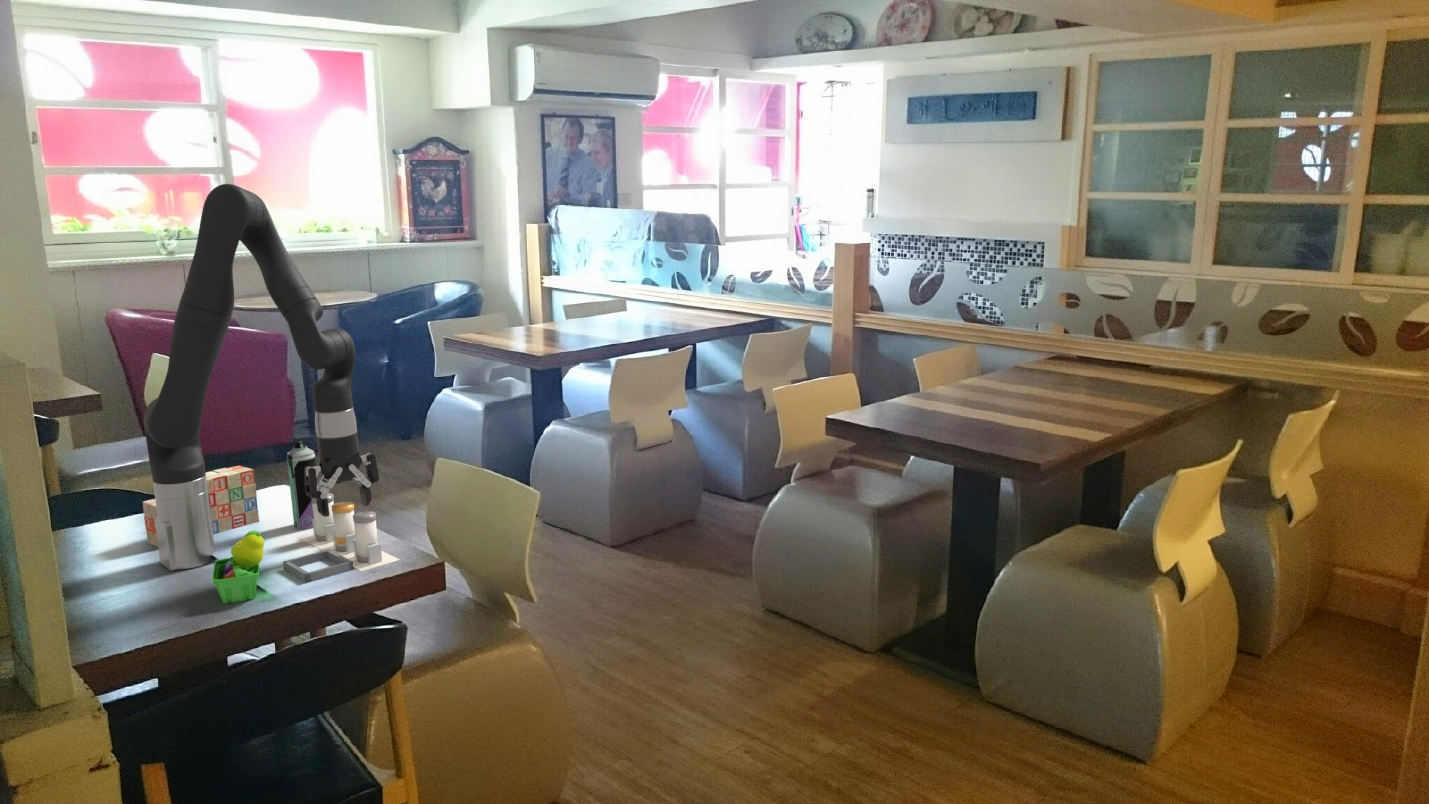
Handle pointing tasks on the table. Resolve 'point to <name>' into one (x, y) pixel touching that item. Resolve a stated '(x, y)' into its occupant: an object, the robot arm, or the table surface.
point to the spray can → (300, 485)
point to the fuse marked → (343, 523)
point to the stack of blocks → (220, 501)
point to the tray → (341, 567)
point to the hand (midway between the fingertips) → (345, 510)
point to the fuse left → (322, 518)
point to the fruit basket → (240, 569)
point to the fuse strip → (350, 549)
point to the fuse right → (364, 533)
